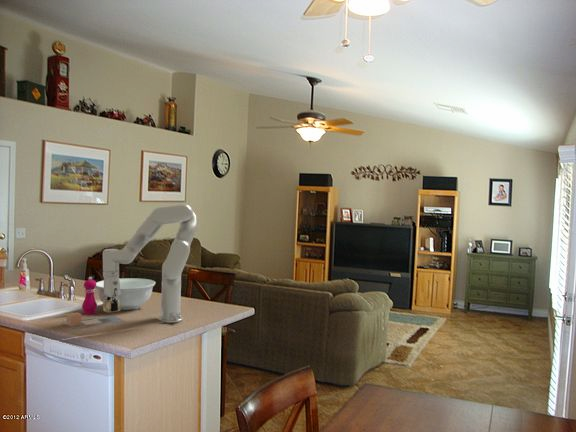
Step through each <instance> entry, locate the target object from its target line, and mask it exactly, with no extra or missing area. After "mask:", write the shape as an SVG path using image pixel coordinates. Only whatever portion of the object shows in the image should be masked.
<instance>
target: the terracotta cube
mask: <svg viewBox="0 0 576 432" xmlns="http://www.w3.org/2000/svg"><path fill="white" fill-rule="evenodd" d="M82 314H83V313H80V312H70V313H66V322H67V325H69V326H77V325H81V320H82V317H83V316H82ZM67 325H66V326H67ZM69 326H68V327H69Z"/></svg>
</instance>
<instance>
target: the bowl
mask: <svg viewBox="0 0 576 432" xmlns="http://www.w3.org/2000/svg"><path fill="white" fill-rule="evenodd" d="M119 281H120V296H119V298H118V300H119V301H120V311H125V310H127V311H128V310H139V309H140V308H141V305H142V304H143V305H144V303H146V302H148V300H149V299H150V298H151V296H152V293H153V287H154V286H155V285H156V281H155V280H153V279H147V278H138V277H137V278H133V277H132V278H125V277H124V278H119ZM95 289H97V295H98V298H99V299H100V301H101V302H102V303H103V301H105V295H104V280H100V281H97V282H96V287H95ZM113 297H115V296H113ZM113 299H114V298H113Z"/></svg>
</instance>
